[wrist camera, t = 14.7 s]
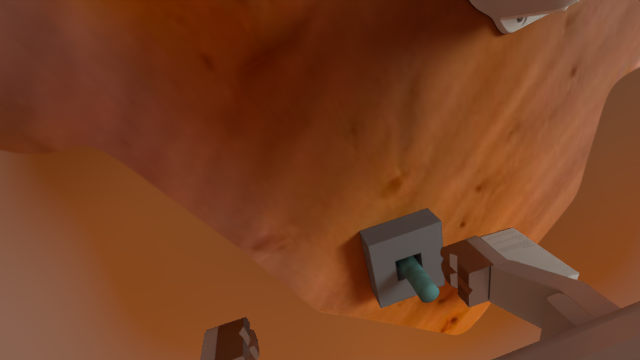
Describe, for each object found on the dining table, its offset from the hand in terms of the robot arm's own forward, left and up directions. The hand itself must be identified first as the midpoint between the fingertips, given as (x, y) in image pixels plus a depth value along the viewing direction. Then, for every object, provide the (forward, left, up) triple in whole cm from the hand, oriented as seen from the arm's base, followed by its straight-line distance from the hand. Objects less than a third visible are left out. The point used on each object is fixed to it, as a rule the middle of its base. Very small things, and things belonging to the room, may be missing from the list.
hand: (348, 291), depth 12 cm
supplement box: (-32, +35, -29) cm, 56 cm away
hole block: (-13, +28, -29) cm, 42 cm away
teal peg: (-13, +28, -29) cm, 42 cm away
